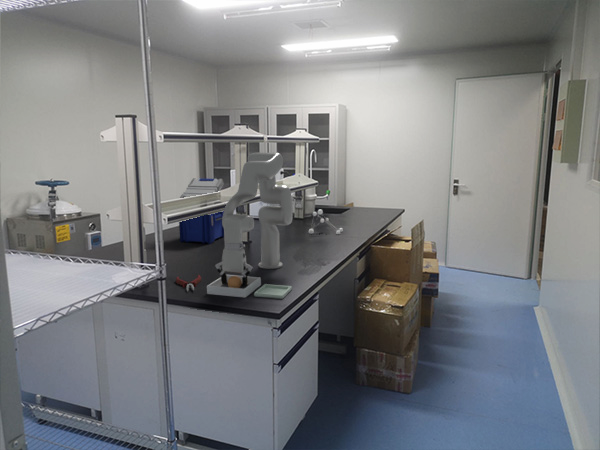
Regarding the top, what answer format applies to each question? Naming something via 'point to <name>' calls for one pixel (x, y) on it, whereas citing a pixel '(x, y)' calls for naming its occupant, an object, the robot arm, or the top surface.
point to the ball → (234, 282)
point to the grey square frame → (236, 292)
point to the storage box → (206, 225)
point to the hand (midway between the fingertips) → (234, 284)
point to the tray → (273, 291)
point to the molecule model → (322, 222)
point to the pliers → (186, 284)
